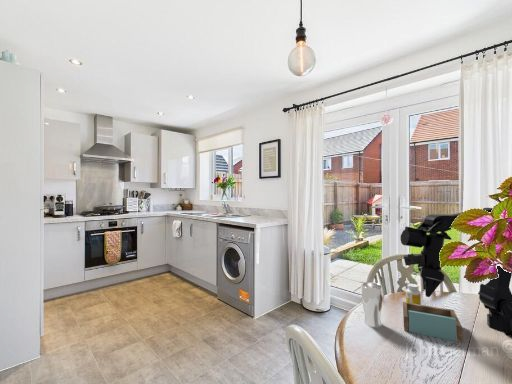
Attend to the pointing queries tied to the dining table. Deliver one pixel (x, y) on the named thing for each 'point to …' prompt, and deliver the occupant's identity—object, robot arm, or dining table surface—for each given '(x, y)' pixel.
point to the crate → (431, 311)
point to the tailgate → (432, 325)
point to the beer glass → (372, 303)
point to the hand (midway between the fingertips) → (426, 293)
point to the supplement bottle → (413, 294)
